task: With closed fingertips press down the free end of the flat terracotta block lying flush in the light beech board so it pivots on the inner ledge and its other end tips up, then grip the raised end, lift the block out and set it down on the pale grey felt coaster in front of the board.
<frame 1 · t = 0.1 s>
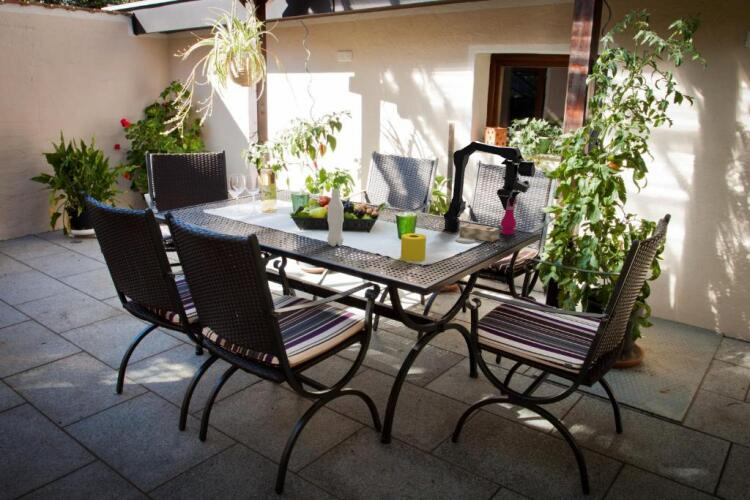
hand: (508, 208, 284), 14 cm above the table, tool pointing down, fingers open, 9 cm apart
water bottle: (335, 245, 270), on the table
felt coaster: (465, 240, 282), on the table
terracotta block: (477, 232, 288), point 2 cm above the table, touching beech pocket board
yellow hollow cylinder: (412, 258, 253), on the table
beech pocket board: (478, 237, 289), on the table
pepper mill: (507, 233, 299), on the table
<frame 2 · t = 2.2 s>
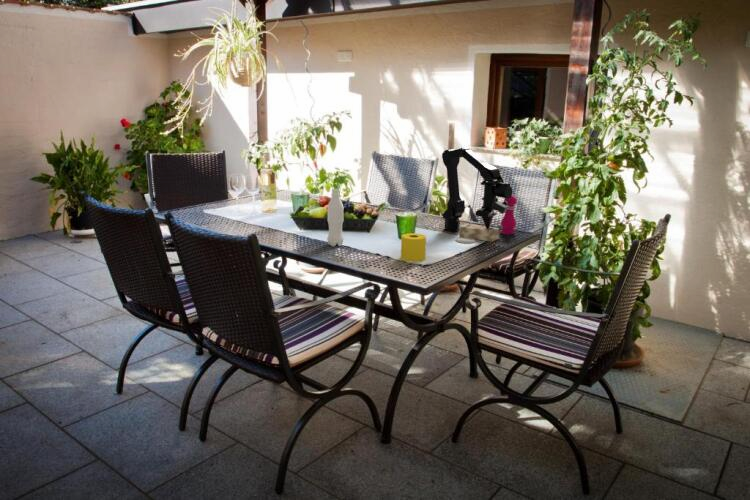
hand: (487, 228, 285), 5 cm above the table, tool pointing down, fingers closed, pressing on terracotta block
terracotta block: (477, 232, 288), point 3 cm above the table, touching beech pocket board, gripper
everything else where it was.
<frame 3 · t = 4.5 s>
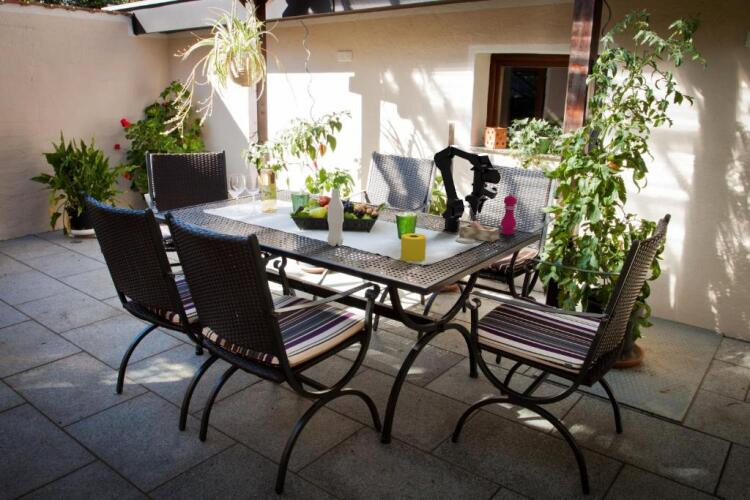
hand: (477, 214, 286), 11 cm above the table, tool pointing down, fingers open, 5 cm apart
terracotta block: (478, 231, 288), point 3 cm above the table, tilted 39°, touching beech pocket board
everything else where it was.
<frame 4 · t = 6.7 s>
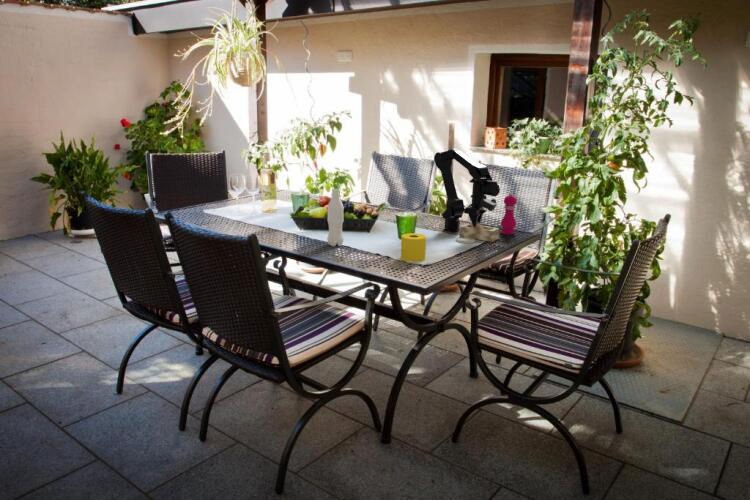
hand: (476, 225, 288), 5 cm above the table, tool pointing down, fingers closed on terracotta block, 4 cm apart
terracotta block: (478, 231, 288), point 3 cm above the table, tilted 39°, touching beech pocket board, gripper
everything else where it was.
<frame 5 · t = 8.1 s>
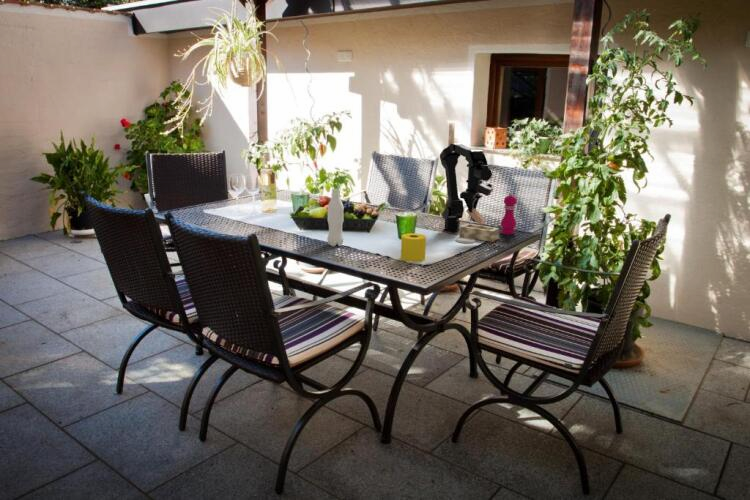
hand: (472, 211, 281), 13 cm above the table, tool pointing down, fingers closed on terracotta block, 4 cm apart
terracotta block: (474, 217, 282), point 11 cm above the table, tilted 38°, touching gripper
everything else where it was.
when the fingers open (8 cm above the table, at t = 9.6 s): terracotta block drops 5 cm, resting on felt coaster.
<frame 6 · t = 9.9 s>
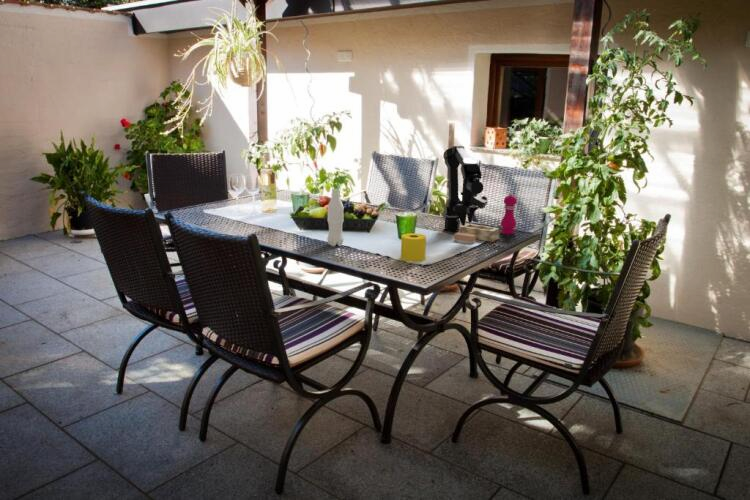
hand: (466, 223, 280), 8 cm above the table, tool pointing down, fingers open, 8 cm apart
terracotta block: (464, 239, 282), point 1 cm above the table, touching felt coaster
everything else where it was.
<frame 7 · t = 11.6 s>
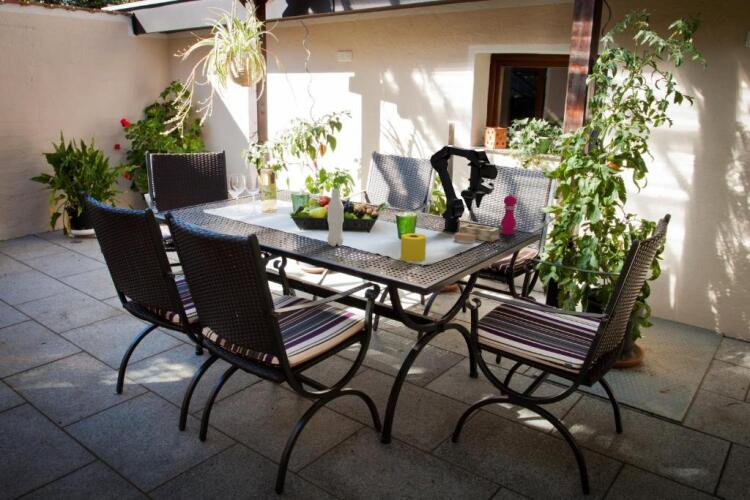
hand: (473, 209, 288), 13 cm above the table, tool pointing down, fingers open, 9 cm apart
nothing on the table moved.
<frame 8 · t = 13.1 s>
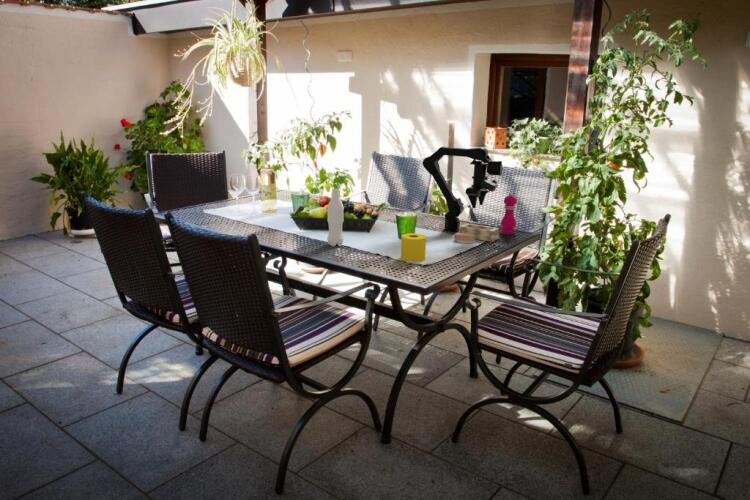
hand: (477, 206, 294), 13 cm above the table, tool pointing down, fingers open, 9 cm apart
nothing on the table moved.
at the end: terracotta block 0.5 cm from the felt coaster (horizontally); terracotta block point 0.6 cm above the table; the gripper is holding nothing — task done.
